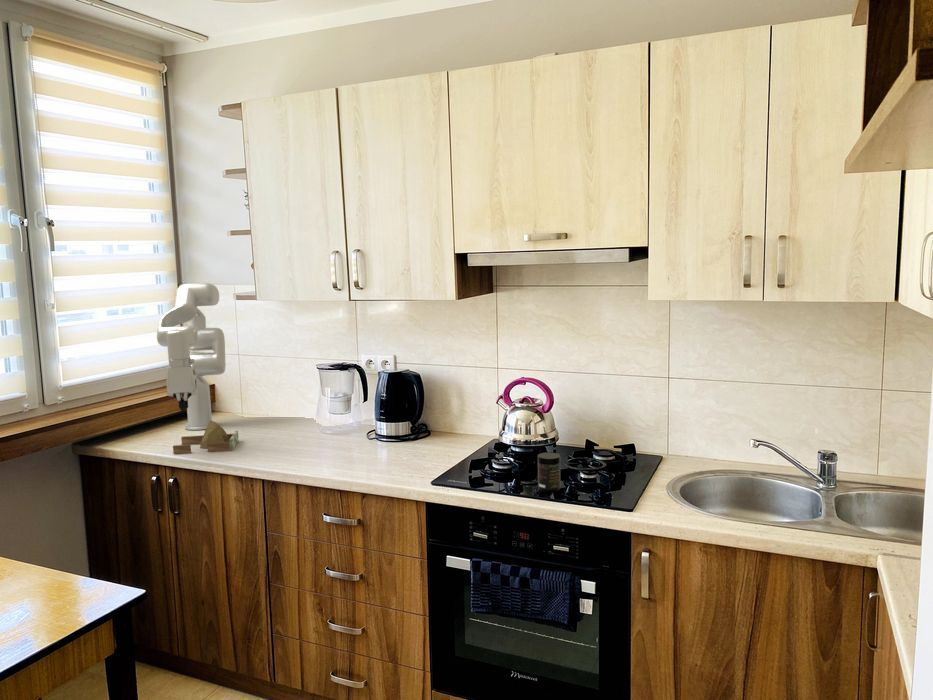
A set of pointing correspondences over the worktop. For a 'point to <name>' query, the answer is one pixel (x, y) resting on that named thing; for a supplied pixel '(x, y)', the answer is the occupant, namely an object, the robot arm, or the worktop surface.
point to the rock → (213, 435)
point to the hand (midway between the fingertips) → (184, 410)
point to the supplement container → (549, 472)
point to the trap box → (210, 446)
